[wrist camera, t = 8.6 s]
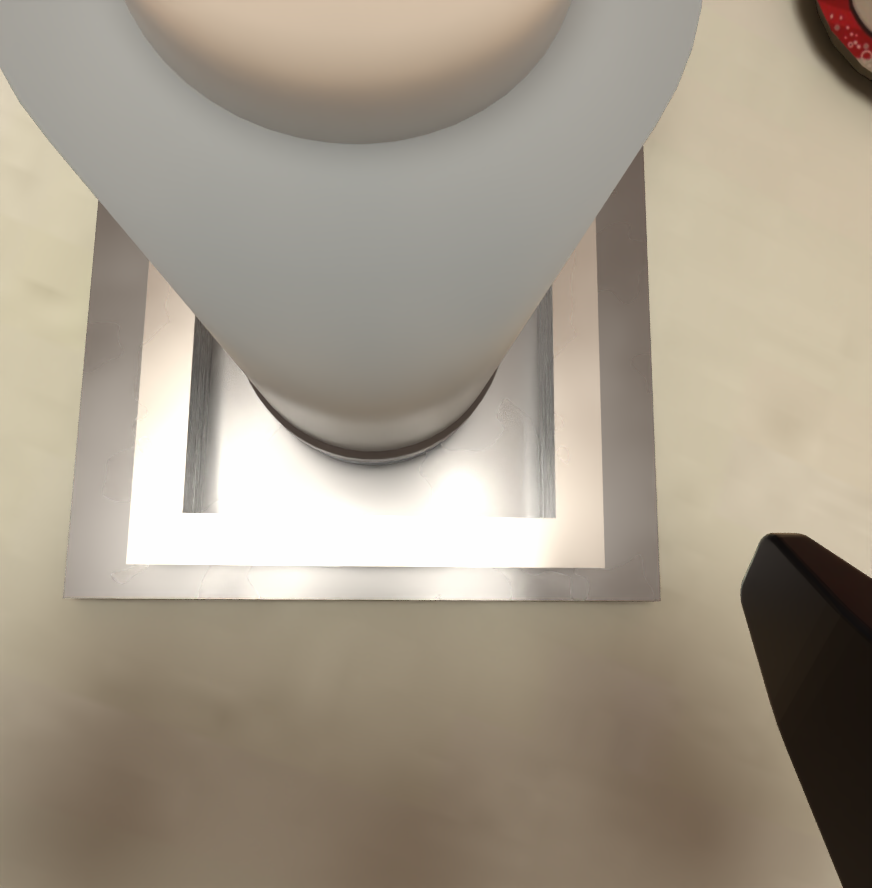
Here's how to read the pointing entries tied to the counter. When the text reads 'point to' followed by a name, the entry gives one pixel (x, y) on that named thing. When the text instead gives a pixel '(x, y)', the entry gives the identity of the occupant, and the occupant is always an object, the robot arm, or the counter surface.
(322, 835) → the counter surface
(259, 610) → the counter surface
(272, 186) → the bottle
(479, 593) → the gray base
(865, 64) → the beverage can
